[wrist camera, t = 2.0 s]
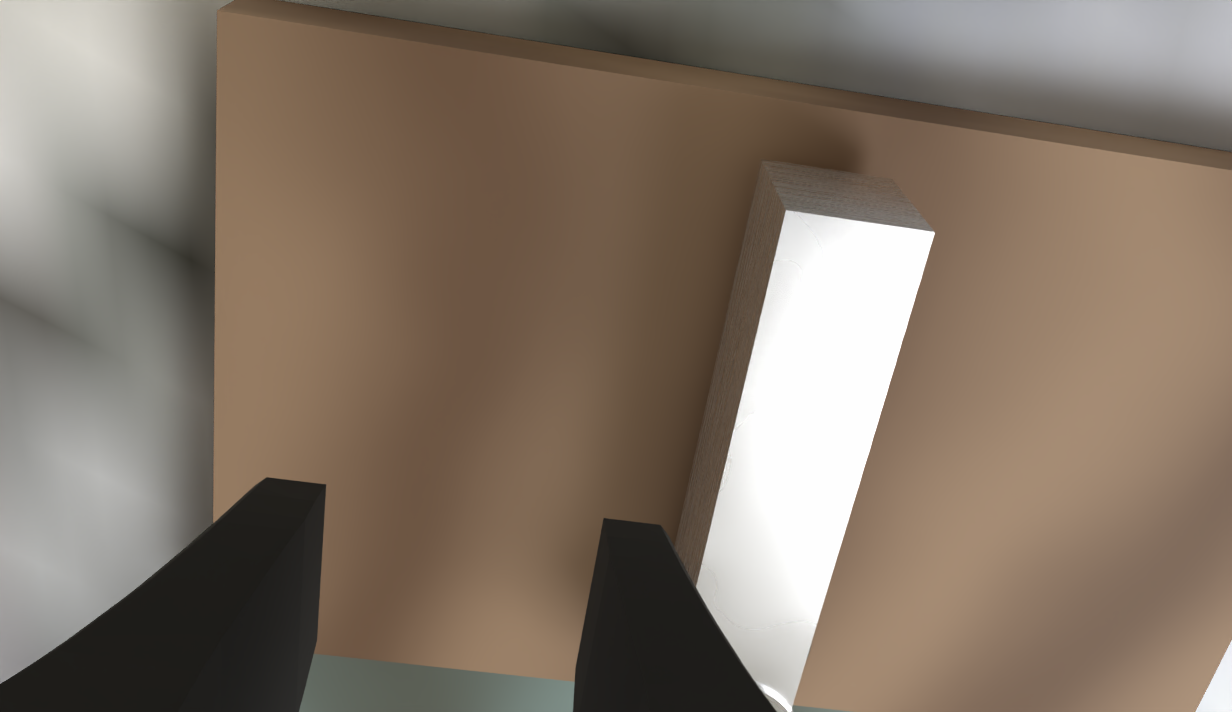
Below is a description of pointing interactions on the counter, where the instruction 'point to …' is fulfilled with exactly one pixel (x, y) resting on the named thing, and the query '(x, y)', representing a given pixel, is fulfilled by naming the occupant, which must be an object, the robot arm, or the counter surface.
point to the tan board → (707, 366)
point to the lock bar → (796, 405)
